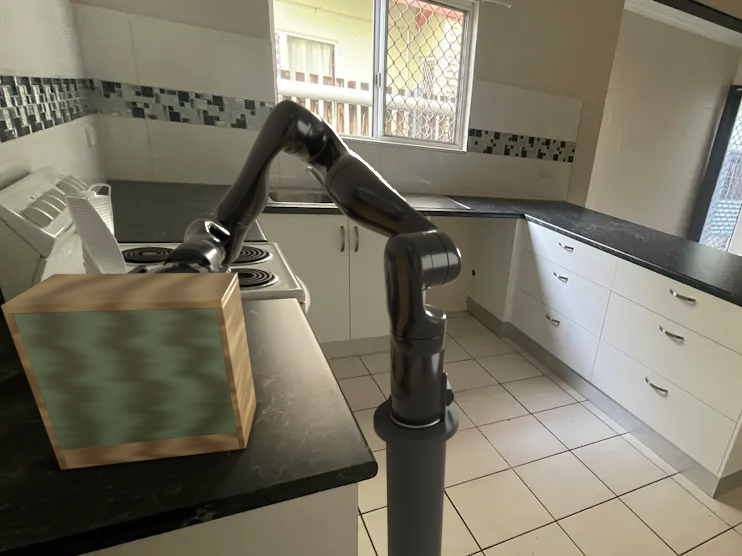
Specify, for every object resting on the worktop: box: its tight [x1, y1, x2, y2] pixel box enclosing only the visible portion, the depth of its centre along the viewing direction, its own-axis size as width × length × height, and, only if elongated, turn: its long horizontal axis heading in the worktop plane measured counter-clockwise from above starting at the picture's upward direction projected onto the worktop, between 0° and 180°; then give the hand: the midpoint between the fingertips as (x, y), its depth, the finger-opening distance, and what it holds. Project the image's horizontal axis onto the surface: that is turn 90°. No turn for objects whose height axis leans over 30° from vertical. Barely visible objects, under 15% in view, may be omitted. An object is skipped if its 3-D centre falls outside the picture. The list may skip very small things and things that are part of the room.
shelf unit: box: [0, 272, 257, 470], centre depth 66 cm, size 22×12×23 cm, turn 109°
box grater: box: [63, 182, 128, 274], centre depth 102 cm, size 8×8×28 cm
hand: (169, 290), depth 73 cm, fingers open, 8 cm apart
